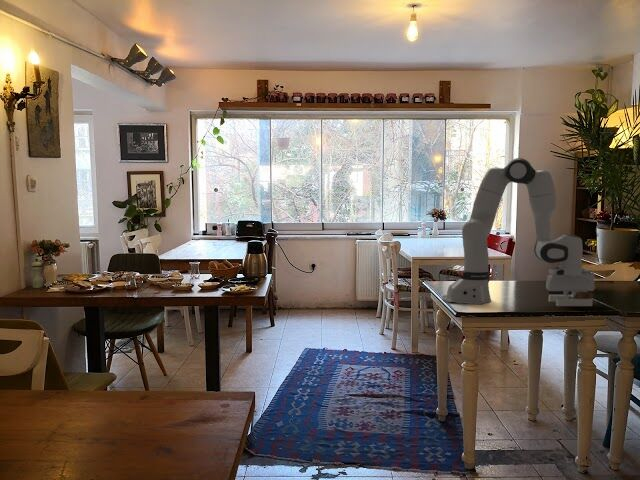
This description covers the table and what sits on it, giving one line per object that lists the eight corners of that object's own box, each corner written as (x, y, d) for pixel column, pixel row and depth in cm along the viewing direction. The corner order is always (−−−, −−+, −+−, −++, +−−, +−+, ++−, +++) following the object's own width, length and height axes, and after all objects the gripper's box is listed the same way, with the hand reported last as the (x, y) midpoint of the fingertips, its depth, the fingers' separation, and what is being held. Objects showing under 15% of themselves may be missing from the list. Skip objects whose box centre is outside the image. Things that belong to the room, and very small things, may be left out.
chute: (557, 308, 224) (557, 299, 224) (548, 303, 234) (548, 294, 234) (592, 308, 224) (592, 299, 223) (581, 303, 234) (582, 294, 233)
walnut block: (578, 305, 226) (578, 293, 225) (572, 302, 232) (572, 291, 231) (592, 304, 226) (592, 293, 225) (585, 301, 232) (586, 291, 231)
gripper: (591, 269, 230) (589, 299, 231) (545, 269, 231) (544, 299, 232) (598, 271, 224) (596, 302, 225) (550, 271, 225) (549, 302, 226)
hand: (569, 300), depth 229 cm, fingers closed
